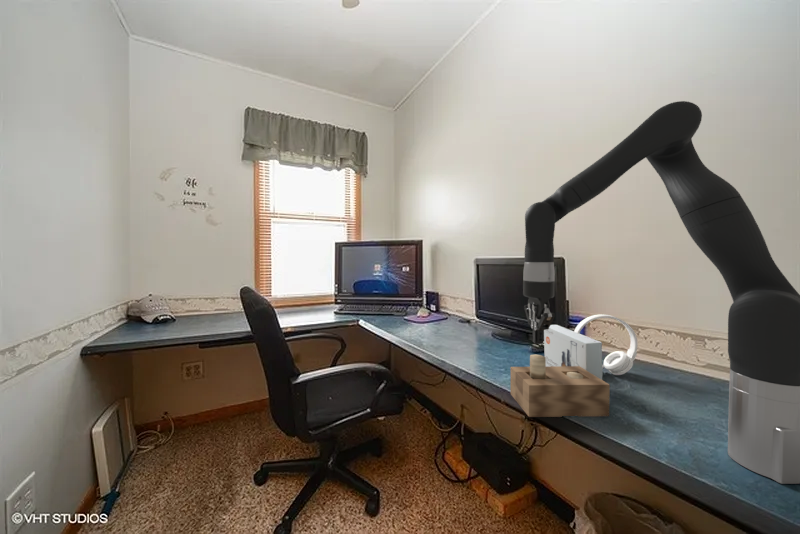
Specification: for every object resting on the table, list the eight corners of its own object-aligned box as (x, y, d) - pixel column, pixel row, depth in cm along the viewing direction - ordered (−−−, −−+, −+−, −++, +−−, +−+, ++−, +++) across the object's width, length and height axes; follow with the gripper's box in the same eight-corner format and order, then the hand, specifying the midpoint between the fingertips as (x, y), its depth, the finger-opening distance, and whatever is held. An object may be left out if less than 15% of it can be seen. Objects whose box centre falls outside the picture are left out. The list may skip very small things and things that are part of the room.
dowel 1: (548, 389, 75) (548, 359, 75) (533, 389, 75) (533, 359, 75) (541, 383, 79) (541, 354, 79) (527, 383, 79) (527, 354, 79)
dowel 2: (586, 407, 75) (586, 377, 75) (571, 407, 75) (571, 377, 75) (577, 400, 79) (577, 371, 79) (563, 400, 79) (563, 372, 79)
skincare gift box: (542, 369, 101) (543, 324, 101) (557, 368, 102) (557, 324, 101) (585, 398, 80) (586, 342, 80) (603, 397, 81) (604, 341, 80)
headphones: (642, 380, 91) (643, 318, 91) (578, 376, 95) (578, 316, 94) (627, 370, 99) (628, 313, 98) (569, 367, 103) (569, 312, 102)
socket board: (579, 393, 83) (579, 366, 83) (609, 416, 71) (609, 384, 71) (510, 393, 83) (510, 366, 83) (528, 416, 71) (529, 385, 71)
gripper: (567, 281, 69) (565, 351, 70) (540, 277, 83) (539, 336, 83) (536, 281, 70) (535, 351, 70) (514, 277, 83) (514, 336, 83)
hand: (537, 343), depth 77 cm, fingers closed
